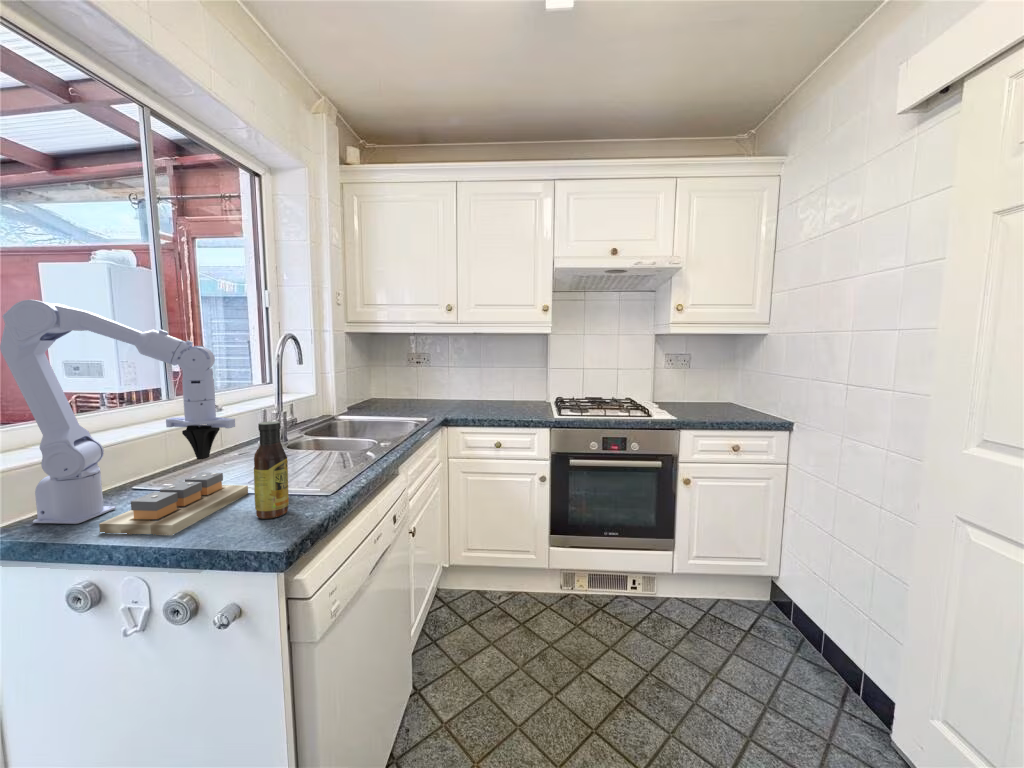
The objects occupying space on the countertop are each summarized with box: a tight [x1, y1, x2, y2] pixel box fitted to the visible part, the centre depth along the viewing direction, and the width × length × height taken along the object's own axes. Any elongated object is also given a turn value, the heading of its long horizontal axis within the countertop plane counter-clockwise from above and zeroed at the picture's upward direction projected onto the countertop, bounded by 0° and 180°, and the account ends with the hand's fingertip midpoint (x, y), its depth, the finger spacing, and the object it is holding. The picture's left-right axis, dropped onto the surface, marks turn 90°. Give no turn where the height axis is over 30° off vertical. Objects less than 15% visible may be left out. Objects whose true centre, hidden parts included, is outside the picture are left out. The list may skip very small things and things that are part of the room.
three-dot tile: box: [184, 472, 224, 496], centre depth 96 cm, size 5×5×4 cm
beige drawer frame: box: [98, 484, 249, 536], centre depth 89 cm, size 14×22×2 cm, turn 179°
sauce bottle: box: [253, 420, 290, 520], centre depth 88 cm, size 6×6×20 cm
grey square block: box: [130, 491, 178, 520], centre depth 83 cm, size 5×5×4 cm
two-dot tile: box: [159, 481, 202, 507], centre depth 89 cm, size 5×5×4 cm
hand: (203, 458), depth 95 cm, fingers closed
